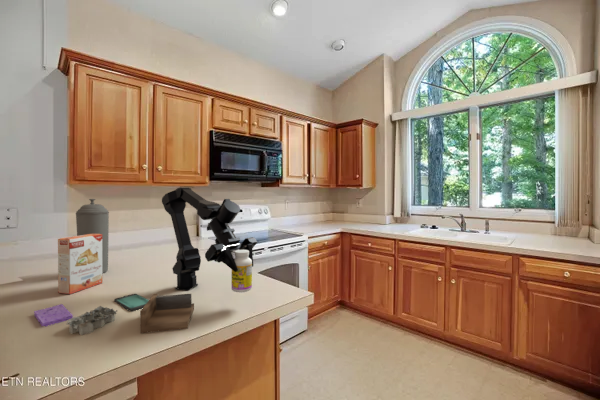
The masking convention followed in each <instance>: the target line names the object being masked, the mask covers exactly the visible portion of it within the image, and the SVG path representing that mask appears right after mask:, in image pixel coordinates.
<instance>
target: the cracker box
mask: <svg viewBox="0 0 600 400" xmlns="http://www.w3.org/2000/svg"><path fill="white" fill-rule="evenodd" d="M57 278H58V279H57V282H58V284H57V285H58V286H57V289H58V291H57V292H58V294H66V295H72V294H74V293H77V292H80V291H84V290H86V289H89V288H91V287H94V286H95V287H96V286H97V285H100V284H102V283H103V273H102V234H87V235H80V236H77V235H75V236H67V237H60V238H57Z"/></svg>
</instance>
